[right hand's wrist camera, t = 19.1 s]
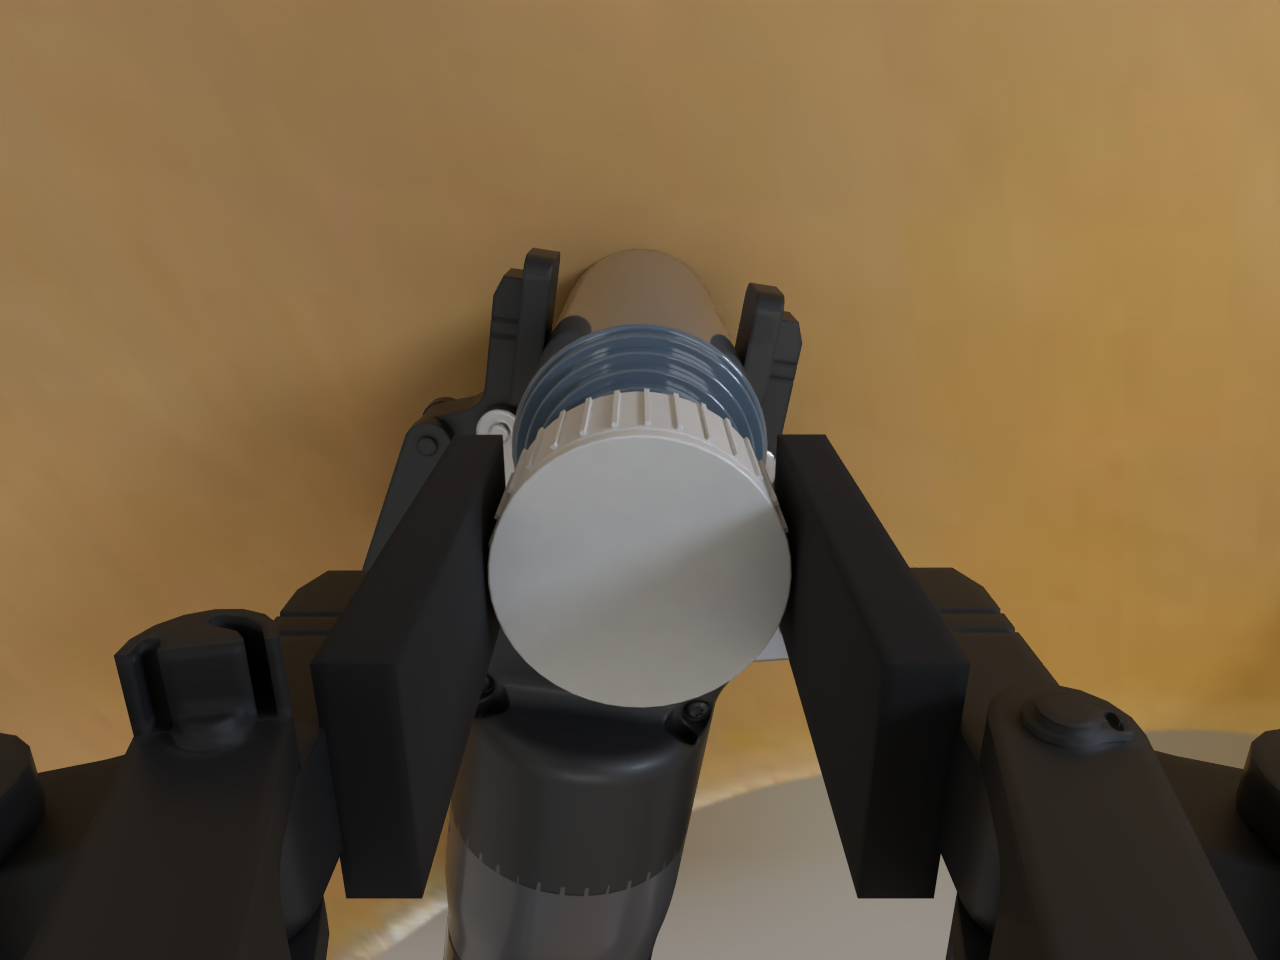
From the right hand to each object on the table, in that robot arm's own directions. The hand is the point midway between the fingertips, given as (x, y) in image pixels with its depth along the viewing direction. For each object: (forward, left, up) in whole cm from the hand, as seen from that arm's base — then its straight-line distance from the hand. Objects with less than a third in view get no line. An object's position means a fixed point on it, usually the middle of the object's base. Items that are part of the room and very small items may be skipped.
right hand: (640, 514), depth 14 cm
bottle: (0, 0, -15) cm, 15 cm away
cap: (0, 0, +2) cm, 2 cm away
